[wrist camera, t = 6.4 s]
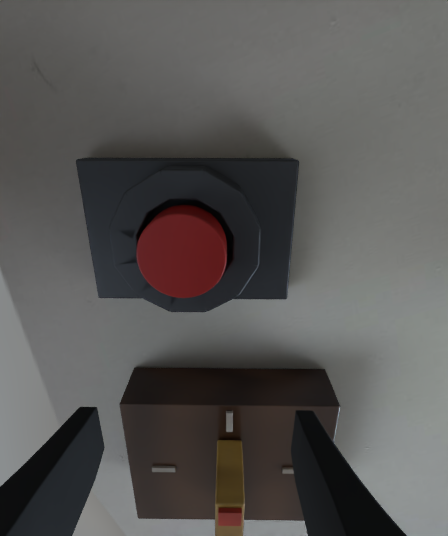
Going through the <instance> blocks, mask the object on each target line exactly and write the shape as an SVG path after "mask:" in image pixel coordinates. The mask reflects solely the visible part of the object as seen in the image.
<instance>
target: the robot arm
mask: <svg viewBox="0 0 448 536" xmlns="http://www.w3.org/2000/svg"><path fill="white" fill-rule="evenodd" d="M103 451H104V442H103V437H102V431H101V426H100V421H99V415H98V410H97V407H80V408H79V409H77V410H76V412H75V413H74V414H73V415H72V416H71V417H70V418H69V419H68V420H67V421H66V422H65V423H64V424H63V425H62V426H61V427H60V428H59V429H58V430H57V432H56V433H55V434H54V435H53V436H52V437H51V438H50V439H49V440H48V441H47V442H46V443H45V444H44V445H43V446H42V447H41V448H40V449H39V450H38V451H37V452H36V453H35V454H34V455H33V456H32V457H31V458H30V459H29V460H28V461H27V462H26V463H25V464H24V465H23V466H22V467H21V468H20V469H19V470H18V471H17V472H16V473H15V474H13V475H12V476H11V477H10V478H9V479H8V480H7V481H6V482H5V483H4V484H3V485H2V486H1V487H0V536H72V534H73V532H74V530H75V527H76V525H77V522H78V520H79V517H80V515H81V513H82V510H83V508H84V506H85V503H86V501H87V498H88V496H89V493H90V491H91V488H92V486H93V483H94V481H95V478H96V475H97V472H98V468H99V465H100V462H101V458H102V454H103ZM291 457H292V464H293V471H294V478H295V483H296V488H297V492H298V496H299V500H300V504H301V508H302V512H303V517H304V521H305V525H306V529H307V533H308V536H407V535H406V534H405V533H404V532H403V531H402V530H401V529H400V528H399V527H398V526H397V524H396V523H395V522H394V521H393V520H392V519H391V517H390V516H389V515H388V514H387V513H386V512H385V510H384V509H383V508H382V507H381V506H380V504H379V503H378V502H377V501H376V500H375V498H374V497H373V496H372V495H371V493H370V492H369V491H368V489H367V488H366V487H365V486H364V484H363V483H362V482H361V480H360V479H359V478H358V476H357V475H356V474H355V472H354V471H353V470H352V468H351V467H350V465H349V464H348V463H347V461H346V460H345V458H344V457H343V456H342V454H341V453H340V451H339V450H338V448H337V447H336V445H335V444H334V442H333V441H332V439H331V438H330V436H329V435H328V433H327V432H326V430H325V428H324V427H323V425H322V424H321V422H320V420H319V419H318V417H317V415H316V413H315V412H314V411H312V410H296V412H295V420H294V428H293V435H292V443H291Z"/></svg>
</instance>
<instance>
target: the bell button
mask: <svg viewBox="0 0 448 536" xmlns="http://www.w3.org/2000/svg"><path fill="white" fill-rule="evenodd" d="M136 258H137V263H138V266H139V269H140V271H141V273H142V275H143V276H144V278H145V279H146V280H147V282H148V283H149V284H150V285H151V286H152V287H154V288H155V289H156V290H158V291H160V292H161V293H164V294H166V295H169V296H172V297H177V298H190V297H195V296H199V295H201V294H204V293H206V292H207V291H209V290H210V289H212V288H213V287H214V286H215V285H216V284H217V283H218V282H219V280H220V279H221V277H222V275H223V273H224V271H225V267H226V262H227V240H226V235H225V232H224V230H223V228H222V226H221V224H220V223H219V221H218V220H217V219H216V218H215V217H214V216H213V215H212V214H211V213H209V212H208V211H206V210H204V209H202V208H200V207H197V206H193V205H176V206H172V207H169V208H167V209H165V210H163V211H162V212H160V213H159V214H158V215H157V216H156V217H155V218H154V219H153V220H152V221H151V222H150V223H149V224H148V226H147V227H146V228H145V229H144V230H143V232H142V234H141V235H140V238H139V240H138V244H137V249H136Z"/></svg>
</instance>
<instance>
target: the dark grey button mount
mask: <svg viewBox="0 0 448 536" xmlns="http://www.w3.org/2000/svg"><path fill="white" fill-rule="evenodd" d="M76 164H77V170H78V176H79V182H80V188H81V194H82V200H83V206H84V212H85V218H86V224H87V230H88V236H89V242H90V248H91V254H92V260H93V266H94V272H95V278H96V284H97V290H98V296H99V298H143V299H145V300H147V301H149V302H151V303H153V304H155V305H157V306H159V307H161V308H163V309H165V310H167V311H171V312H206V311H210V310H212V309H214V308H216V307H218V306H220V305H222V304H224V303H226V302H228V301H230V300H232V299H287V293H288V282H289V271H290V259H291V248H292V236H293V225H294V214H295V202H296V191H297V180H298V168H299V161H298V160H296V159H293V158H82V159H77V160H76ZM176 205H193V206H197V207H200V208H202V209H204V210H206V211H208V212H209V213H211V214H212V215H213V216H214V217H215V218H216V219H217V220H218V221H219V223H220V224H221V226H222V228H223V230H224V232H225V235H226V240H227V262H226V267H225V271H224V273H223V275H222V277H221V279H220V280H219V282H218V283H217V284H216V285H215V286H214V287H213V288H212V289H210V290H209V291H207V292H206V293H204V294H201V295H199V296H195V297H190V298H177V297H172V296H169V295H166V294H164V293H161V292H160V291H158V290H156V289H155V288H154V287H152V286H151V285H150V284H149V283H148V282H147V280H146V279H145V278H144V276H143V275H142V273H141V271H140V269H139V266H138V263H137V258H136V249H137V244H138V240H139V238H140V235H141V234H142V232H143V230H144V229H145V228H146V227H147V226H148V224H149V223H150V222H151V221H152V220H153V219H154V218H155V217H156V216H157V215H158V214H159V213H160V212H162V211H163V210H165V209H167V208H169V207H172V206H176Z"/></svg>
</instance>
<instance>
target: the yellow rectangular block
mask: <svg viewBox="0 0 448 536" xmlns="http://www.w3.org/2000/svg"><path fill="white" fill-rule="evenodd" d="M244 510H245V498H244V476H243V455H242V441H241V440H218V441H217V465H216V495H215V536H243V528H244Z"/></svg>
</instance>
